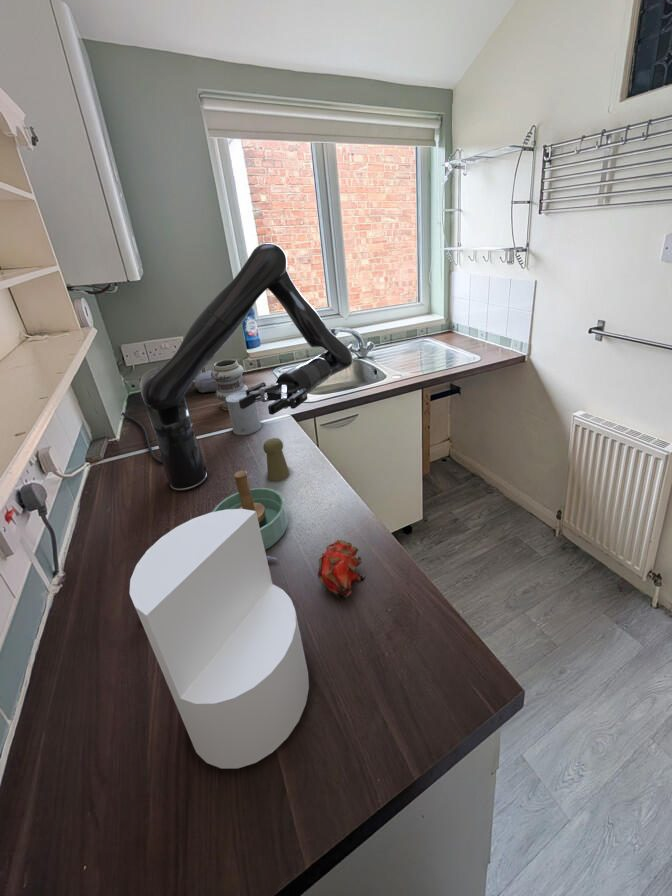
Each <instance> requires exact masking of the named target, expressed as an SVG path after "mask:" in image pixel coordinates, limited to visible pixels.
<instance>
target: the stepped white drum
mask: <svg viewBox="0 0 672 896" xmlns="http://www.w3.org/2000/svg"><path fill="white" fill-rule="evenodd" d="M266 553H267V552H266V550H265V549H264V544H263V540H262V535H261V531H260V527H259V522H258V518H257V513H256V511H252V510H246V509H226V510H221V511H216V512H212V511H211V512H208V513H205V514H202V515H200V516H197V517H193V518H191V519H189V520H187V521H186V522H183V523H181V524H179V525H178V526H176V527H174V528H173V529H171V530H169V532H167V533H165V534H164V535H163V536H161V537H160V538H159V539H158V540H157V541H155V542H154V543H153V545H151V546H150V547H149V548H148V549H147V550H146V551H145V553H144V554H143V555H142V556H141V558H140V559H139V560H138V562H137V563H136V565H135V567H134V570H133V571H132V575H131V577H130V579H129V597H130V599H131V600H132V603H133V606H134V608H135V611H136V613H137V615H138V617H139V620H140V622H141V625H142V627H143V630H144V632H145V634H146V637H147V639H148V642H149V644H150V647H151V648H152V651H153V653H154V656H155V658H156V660H157V663H158V665H159V668H160V670H161V672H162V675H163V677H164V680H165V682H166V684H167V687H168V689H169V692H170V695H171V696H172V699H173V701H174V704H175V706H176V708H177V710H178V713H179V715H180V718H181V720H182V722H183V724H184V727H185V729H186V732H187V734H188V737H189V739H190V741H191V744H192V747H193V749H194V750H195V753H196V754H197V755H198V756H199V757H200V758H201V759H202V760H203V761H204V762H205V763H206V764H209V765H210V766H214V767H216V768H218V769H240V768H244V767H247V766H250V765H253V764H256V763H258V762H259V761H261V760H263V759H264V758H266V757H267V756H269V755H271V754H272V753H274V751H276V750H277V749H278V748H279V747H280V746H281V745H282V744H283V743H284V741H286V740H287V739H288V738H289V737H290V735H291V734H292V733H293V731H294V729H295V727H296V726H297V724H298V723H299V722H300V719H301V718H302V715H303V712H304V710H305V707H306V706H307V701H308V694H309V690H310V682H309V680H310V679H309V670H308V666H307V665H308V664H307V661H306V656H305V651H304V646H303V641H302V635H301V631H300V627H299V621H298V617H297V611H296V608H295V605H294V603H293V600H292V598H291V597H290V596H289V595H288V594H287V592H285V590H284V589H282V588H281V587H279V586H277V585H275V584H274V583H273V580H272V575H271V570H270V567H269V563H268V561H267V557H266V556H267V554H266Z"/></svg>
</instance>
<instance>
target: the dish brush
mask: <svg viewBox="0 0 672 896" xmlns="http://www.w3.org/2000/svg"><path fill="white" fill-rule="evenodd" d="M233 477H234V479H235V484H236V488H237V492H239V497H240V501H241V505H242V507H240V508H239V509H246V510H252V511H256V513H257V518H258V522H259V527H260V528H262V527H263V526H265V525H266V524H267V519H266V515H265V508H264V506H263V505H262V504H260V503H254V502H253V497H252V493H251V489H252V488H251V485H250V481H249V475H248V472H247V471H246V470H238V471H237V472H235V473H234V475H233Z"/></svg>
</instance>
